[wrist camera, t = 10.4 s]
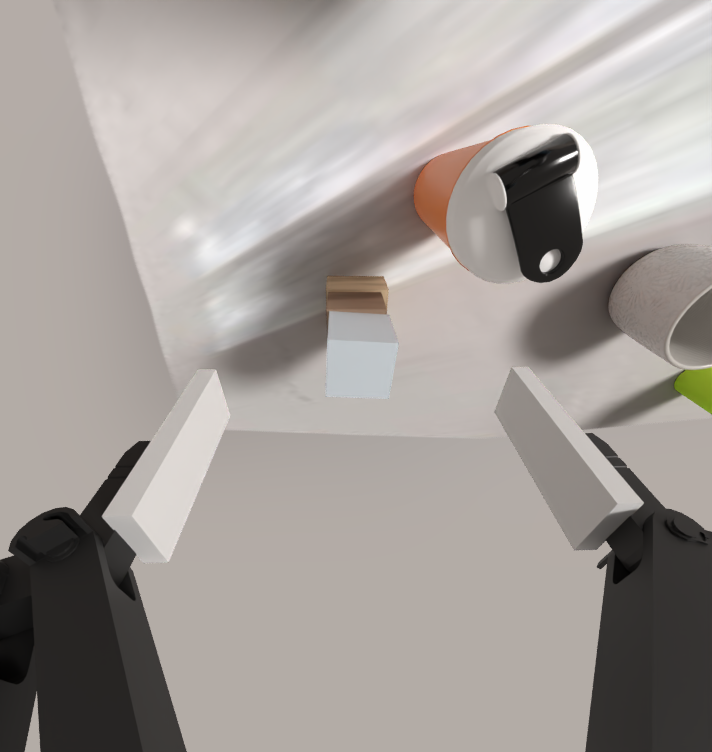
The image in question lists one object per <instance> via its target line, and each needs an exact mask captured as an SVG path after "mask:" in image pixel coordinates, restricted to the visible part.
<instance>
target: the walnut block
mask: <svg viewBox="0 0 712 752" xmlns="http://www.w3.org/2000/svg"><path fill="white" fill-rule="evenodd" d="M329 311H337V312H354V313H371V314H387V308H386V305H385V302H384V299H383V296H382V293H381V292H328V295H327V307H326V316H327V338H328V323H329Z"/></svg>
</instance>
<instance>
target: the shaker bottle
mask: <svg viewBox="0 0 712 752" xmlns="http://www.w3.org/2000/svg"><path fill="white" fill-rule="evenodd" d="M597 191H598V170H597V163H596V159H595V157H594V154H593V152H592V149H591V147H590V146H589V145H588V143H587V142H586V141H585V139H584V138H583V137H582V136H581V135H579V134H578V133H576V132H575V131H574V130H572V129H570V128H567V127H564V126H561V125H558V124H539V125H534V126H524V127H520V128H515V129H511V130H509V131H507V132H505V133H503V134H500V135H498V136H496V137H495V138H494V139H492V140H490V141H486V142H483V143H479V144H476V145H472V146H469V147H465V148H462V149H458V150H455V151H451V152H448V153H444V154H441V155H439V156H437V157H435V158H434V159H432V160H431V161H430V162H429V163H428V164H427V165H426V166H425V167H424V168H423V170H422V171H421V173H420V174H419V177H418V179H417V181H416V185H415V188H414V205H415V209H416V211H417V213H418V215H419V217H420V218H421V219H422V221H423V222H424V223H425V224H426V225H427V226H428V227H429V228H430V229H431V230H432V231H433V232H434V233H435V234H436V235H437V236H438V237H439V238H440V239H441V240H442V241H443V242H444V243H445V244H446V245H447V246H448V247H449V248H450V249H451V252H452V254H453V255H454V257H455V258H456V259H457V261H458V262H459V263H460V264H461V265H462V266H463V267H464V268H466V269H467V270H468V271H470V272H472V273H473V274H474V275H475V276H477V277H479V278H481V279H483V280H485V281H488V282H493V283H508V284H509V283H514V282H520V281H523V280H526V279H529V280H531V281H534V282H539V283H543V282H550V281H553V280H555V279H557V278H559V277H560V276H562V275H563V274H564V273H565V272H567V271H568V270H569V268H570V267H571V266H572V265H573V263H574V262H575V261H576V259H577V258H578V256H579V254H580V252H581V249H582V245H583V239H582V233H583V231H584V229H585V227H586V226H587V224H588V222H589V219H590V217H591V214H592V212H593V209H594V205H595V201H596V197H597Z"/></svg>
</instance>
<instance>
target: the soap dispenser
mask: <svg viewBox="0 0 712 752" xmlns="http://www.w3.org/2000/svg"><path fill="white" fill-rule="evenodd" d="M674 388H675V390H676V391H678V392H679V393H681V394H682V395H684V396H685V397H687V398H688V399H690V400H691V401H693V402H694V403H696V404H697V405H699V406H700V407H702V408H703V409H705V410H706V411H708V412H709V413H711V414H712V367H711V368H706V369H699V370H685V371H684V372H683V373H681V374H680V375H679V376H678V378H677V379H676V381H675V383H674Z"/></svg>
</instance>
